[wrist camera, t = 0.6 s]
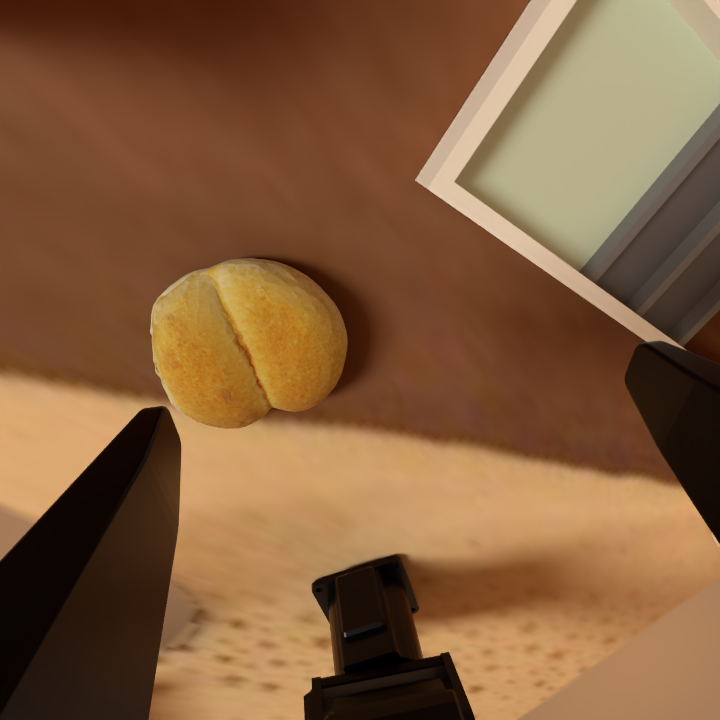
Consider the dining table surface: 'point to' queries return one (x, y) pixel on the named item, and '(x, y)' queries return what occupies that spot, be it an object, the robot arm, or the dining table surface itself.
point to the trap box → (601, 156)
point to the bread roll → (246, 342)
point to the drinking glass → (715, 539)
